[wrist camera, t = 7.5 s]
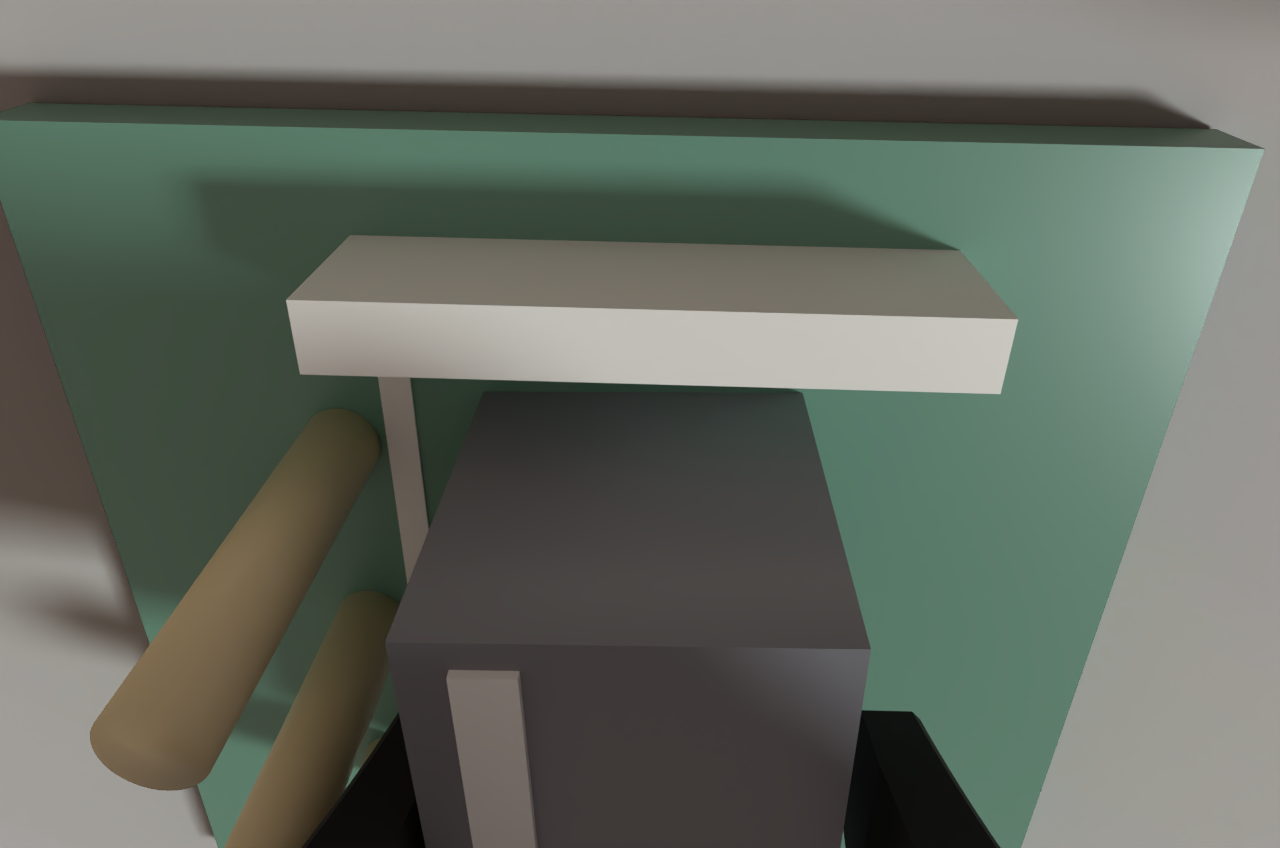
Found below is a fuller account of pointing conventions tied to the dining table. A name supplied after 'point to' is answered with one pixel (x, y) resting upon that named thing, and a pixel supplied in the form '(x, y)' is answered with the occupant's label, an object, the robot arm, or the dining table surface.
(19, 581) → the dining table surface
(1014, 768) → the header board
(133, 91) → the dining table surface
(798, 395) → the block
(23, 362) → the dining table surface
